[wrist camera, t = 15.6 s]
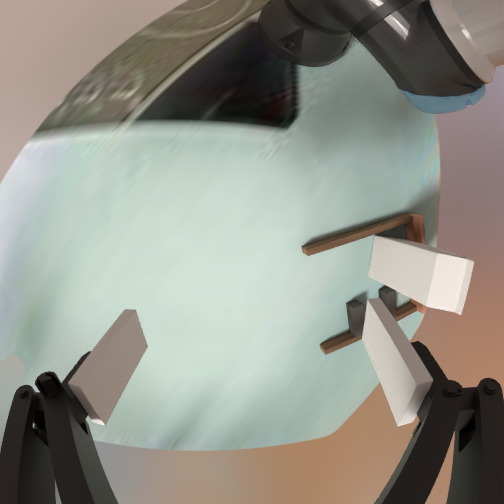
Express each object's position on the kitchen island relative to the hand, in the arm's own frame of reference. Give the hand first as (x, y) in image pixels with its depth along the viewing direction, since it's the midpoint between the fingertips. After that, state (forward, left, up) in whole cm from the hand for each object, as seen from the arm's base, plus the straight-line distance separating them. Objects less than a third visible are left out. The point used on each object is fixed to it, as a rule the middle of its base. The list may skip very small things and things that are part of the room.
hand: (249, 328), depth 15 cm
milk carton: (+10, +27, -25) cm, 39 cm away
